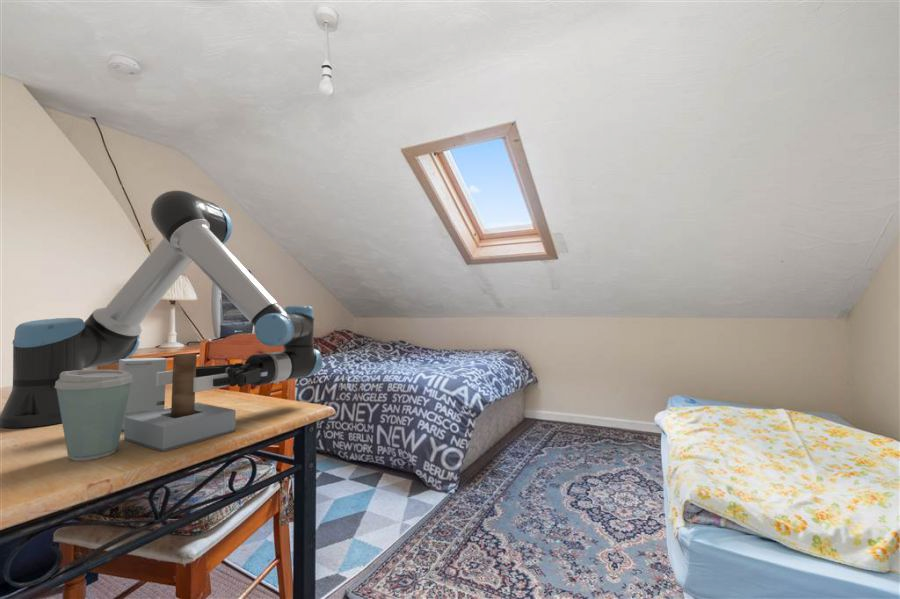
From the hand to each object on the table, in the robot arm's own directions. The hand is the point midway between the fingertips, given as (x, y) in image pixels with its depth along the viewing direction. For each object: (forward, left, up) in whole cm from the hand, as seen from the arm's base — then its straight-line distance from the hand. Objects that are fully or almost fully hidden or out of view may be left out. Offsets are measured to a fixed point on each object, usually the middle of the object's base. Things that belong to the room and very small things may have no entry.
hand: (175, 382), depth 81 cm
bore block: (0, +2, -11) cm, 11 cm away
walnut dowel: (0, +2, -11) cm, 11 cm away
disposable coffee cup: (-2, -12, -11) cm, 17 cm away
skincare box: (-16, +2, -11) cm, 20 cm away
